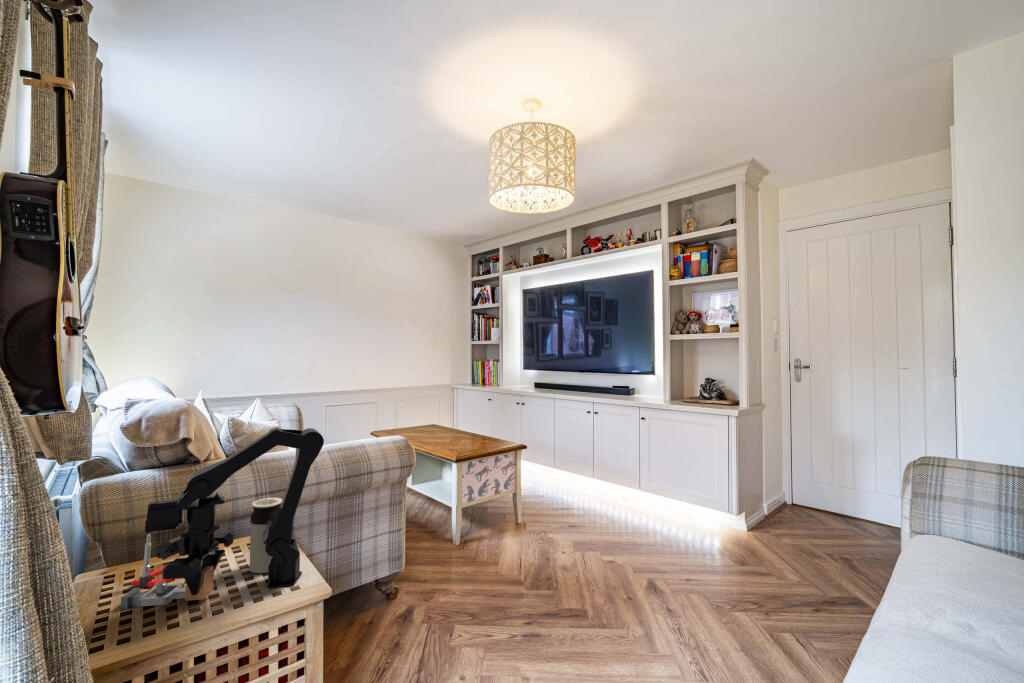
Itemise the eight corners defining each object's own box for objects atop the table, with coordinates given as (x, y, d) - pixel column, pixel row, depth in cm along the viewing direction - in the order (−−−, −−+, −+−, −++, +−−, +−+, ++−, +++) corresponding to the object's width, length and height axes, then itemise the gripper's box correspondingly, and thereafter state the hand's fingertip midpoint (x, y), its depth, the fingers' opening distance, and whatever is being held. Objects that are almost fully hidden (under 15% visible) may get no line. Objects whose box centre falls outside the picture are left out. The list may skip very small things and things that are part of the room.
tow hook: (161, 570, 122) (127, 586, 113) (165, 522, 123) (131, 534, 114) (188, 573, 121) (156, 590, 112) (191, 524, 121) (160, 537, 112)
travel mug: (267, 575, 119) (268, 507, 119) (242, 572, 120) (243, 505, 121) (288, 562, 126) (290, 498, 127) (265, 558, 128) (266, 495, 129)
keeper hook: (171, 597, 108) (171, 579, 108) (159, 607, 104) (160, 587, 104) (133, 599, 107) (134, 580, 107) (120, 609, 103) (121, 589, 103)
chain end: (216, 587, 110) (216, 563, 110) (200, 602, 104) (200, 576, 104) (156, 591, 109) (156, 566, 109) (137, 606, 102) (137, 580, 102)
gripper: (189, 511, 115) (188, 572, 115) (136, 542, 97) (134, 615, 96) (234, 509, 117) (233, 570, 116) (191, 540, 98) (189, 612, 98)
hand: (200, 589), depth 107 cm, fingers closed on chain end, 4 cm apart
